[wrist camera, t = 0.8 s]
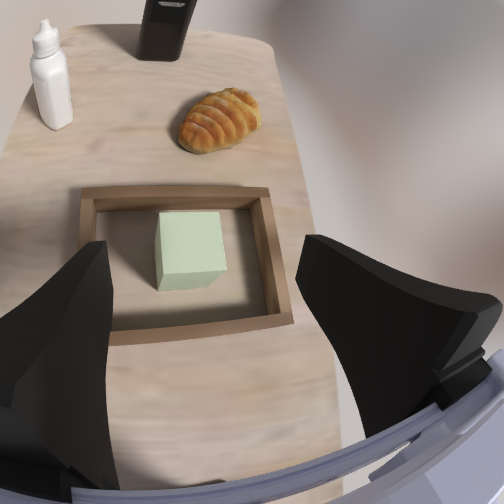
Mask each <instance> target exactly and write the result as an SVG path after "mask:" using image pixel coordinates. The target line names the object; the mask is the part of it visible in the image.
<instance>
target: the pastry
mask: <svg viewBox="0 0 504 504" xmlns="http://www.w3.org/2000/svg"><path fill="white" fill-rule="evenodd" d="M259 109H260V108H259V105H258V103H257V101H256V100H255V99H254V98H253V97H252V96H251V95H250V94H248V93H247V92H245V91H242V90H238V89H237V88H226V89H224V90H223V91H219V92H216V93H213V94H210V95H207V96H206V97H205V98H204V99H203V100H201V101H199V102H198V103H196V104H195V106H193V107H192V109H191V110H190V112H189V113H188V114H187V116H186V118H185V120H184V121H183V123H182V124H181V125H180V127H179V136H178V142H179V144H181V145H182V146H183V147H184V148H185V149H186V150H188V151H190V152H193V153H196V154H200V155H201V154H207V153H210V152H215V151H218V150H223V149H230V148H232V147H233V146H234V145H236V144H239V143H241V142H242V141H243V140H244V139H245V138H247V137H249V136H250V135H251V134H252V133H253V132H255V131H257V130H259V129H260V128H261V126H262V122H261V114H260V111H259Z"/></svg>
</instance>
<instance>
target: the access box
mask: <svg viewBox="0 0 504 504" xmlns="http://www.w3.org/2000/svg"><path fill="white" fill-rule="evenodd" d="M186 209H250V213H251V219H252V225H253V231H254V237H255V242H256V248H257V254H258V260H259V266H260V272H261V278H262V284H263V290H264V296H265V302H266V308H267V314H268V315H266V316H259V317H252V318H244V319H237V320H229V321H221V322H213V323H204V324H195V325H185V326H175V327H164V328H153V329H140V330H126V331H110V337H109V345H108V346H119V345H134V344H146V343H158V342H168V341H178V340H187V339H196V338H204V337H212V336H220V335H227V334H234V333H241V332H248V331H254V330H260V329H266V328H272V327H278V326H284V325H289V324H294V320H293V315H292V309H291V303H290V298H289V292H288V287H287V281H286V276H285V270H284V265H283V260H282V254H281V249H280V244H279V239H278V234H277V228H276V223H275V218H274V213H273V208H272V203H271V198H270V194H269V189H268V188H264V187H240V186H198V185H155V186H115V187H92V188H82V194H81V206H80V220H79V244H78V251H79V250H80V249H81V248H82V247H83V246H85V245H86V244H87V243H88V242H89V241H96V212H114V211H141V210H186Z"/></svg>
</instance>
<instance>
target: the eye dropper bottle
mask: <svg viewBox="0 0 504 504" xmlns="http://www.w3.org/2000/svg"><path fill="white" fill-rule="evenodd" d="M32 41H33V49H34V54H33V55H32V57H31V61H30V68H31V74H32V79H33V84H34V89H35V94H36V98H37V103H38V107H39V111H40V115H41V118H42V120H43V122H44V123H45V124H46V125H47V126H48V127H49V128H51V129H53V130H59V129H61V128H63V127H65V126H66V125H68V124H70V123H71V122H72V120H73V109H72V102H71V94H70V85H69V74H68V64H67V58H66V55H65V53H64V52H63V50H62V49H61V48H60V46H59V29H58V28H56V27H51V26H50V23H49V19H44V20H42V21H41V24H40V30H39V31H38V32H37V33H36V34H35V35H34V36H33V38H32Z"/></svg>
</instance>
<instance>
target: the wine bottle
mask: <svg viewBox="0 0 504 504" xmlns="http://www.w3.org/2000/svg"><path fill="white" fill-rule="evenodd" d="M196 2H197V0H146V4H145V9H144V14H143V20H142V25H141V30H140V36H139V42H138V49H137V57H138V58H139V59H141V60H159V61H175V60H178V59H179V57H180V54H181V51H182V47H183V44H184V40H185V37H186V34H187V30H188V27H189V24H190V21H191V17H192V14H193V12H194V8H195V6H196Z"/></svg>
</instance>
